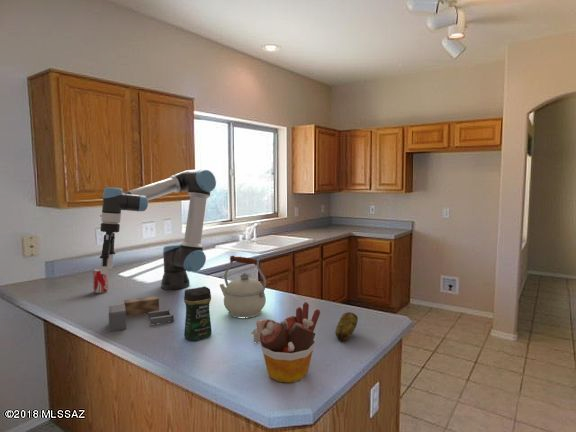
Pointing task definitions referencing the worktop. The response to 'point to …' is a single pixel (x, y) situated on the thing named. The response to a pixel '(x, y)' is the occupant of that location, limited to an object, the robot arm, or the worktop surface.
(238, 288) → the kettle
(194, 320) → the coffee jar
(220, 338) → the worktop surface
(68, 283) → the worktop surface
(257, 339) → the architectural model
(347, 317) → the potato
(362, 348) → the worktop surface
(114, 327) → the roofed end cap
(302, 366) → the bucket of meat
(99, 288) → the soda can
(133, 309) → the walnut rail
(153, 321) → the open end cap
